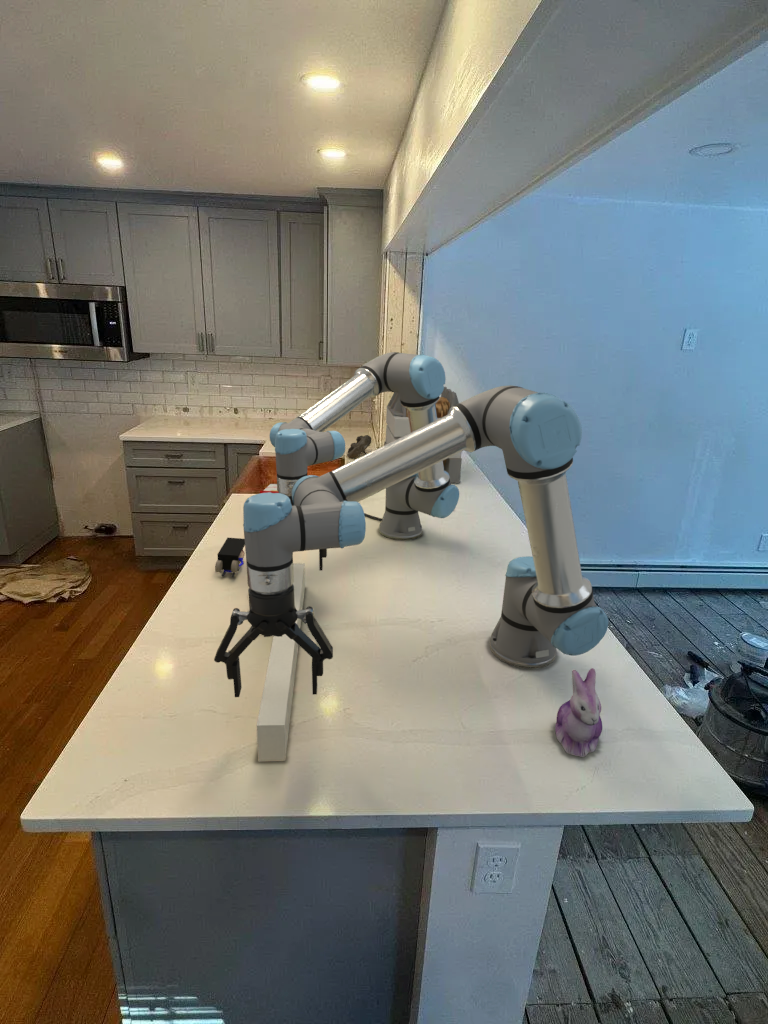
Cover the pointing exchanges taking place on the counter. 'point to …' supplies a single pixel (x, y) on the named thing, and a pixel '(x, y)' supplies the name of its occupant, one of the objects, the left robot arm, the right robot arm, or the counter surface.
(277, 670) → the beam
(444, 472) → the left robot arm
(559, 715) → the figurine
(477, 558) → the counter surface
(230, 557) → the black wheeled rover
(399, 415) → the transformer
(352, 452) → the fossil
